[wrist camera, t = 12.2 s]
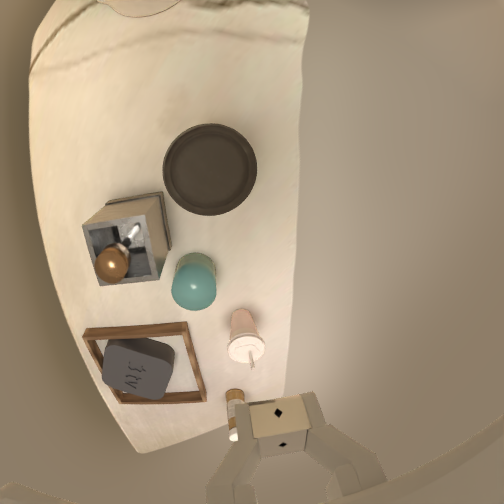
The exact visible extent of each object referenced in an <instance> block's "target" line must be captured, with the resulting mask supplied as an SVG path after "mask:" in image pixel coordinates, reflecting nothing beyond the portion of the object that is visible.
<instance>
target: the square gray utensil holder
mask: <svg viewBox="0 0 504 504" xmlns="http://www.w3.org/2000/svg"><path fill="white" fill-rule="evenodd" d="M105 205H106V206H104V207H103V208H102V209H101V210H99V211H98V212H97V213H96V214H95V215H93V216H92V217H91V218H90V219H89V220H88V221H86V222H85V223H84V224H83V225H82V228H83V232H84V236H85V239H86V243H87V247H88V250H89V254H90V257H91V260H92V264H93V267H94V264H95V260H96V258H97V257H98V256H99V254H100V253H101V252H102V251H103V249H104V248H105V247H106V246H107V245H108V244H111V243H119V244H121V240H120V235H119V231H118V227H117V225H124V224H130V223H137V222H140V225H141V229H142V234H143V239H144V243H145V246H144V247H136V248H129V249H128V250H129V252H130V254H131V264H130V267H129V268H128V270H127V272H126V274H125V276H124V278H123V279H122V280H121V281H120V282H118V283H115V284H110V283H107V282H104V281H103V280H101V279H100V278H99V277H98V275H97V274H96V276H97V279H98V282H99V285H100V286H107V285H117V284H126V283H136V282H145V281H154V280H159V279H160V276H161V273H162V269H163V266H164V263H165V260H166V257H167V254H168V251H170V250H171V247H172V244H171V238H170V233H169V228H168V222H167V216H166V210H165V204H164V198H163V192H157V193H150V194H144V195H138V196H132V197H126V198H121V199H115V200H110V201H108V202H107V203H106V204H105ZM94 270H95V267H94ZM95 273H96V271H95Z"/></svg>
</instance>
